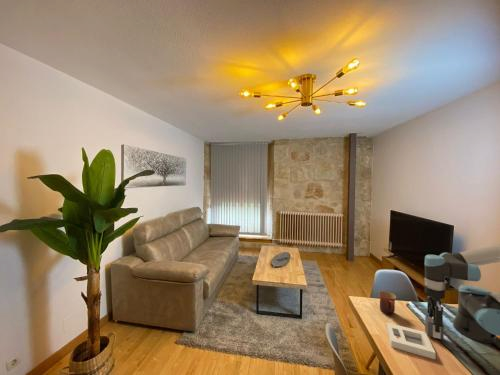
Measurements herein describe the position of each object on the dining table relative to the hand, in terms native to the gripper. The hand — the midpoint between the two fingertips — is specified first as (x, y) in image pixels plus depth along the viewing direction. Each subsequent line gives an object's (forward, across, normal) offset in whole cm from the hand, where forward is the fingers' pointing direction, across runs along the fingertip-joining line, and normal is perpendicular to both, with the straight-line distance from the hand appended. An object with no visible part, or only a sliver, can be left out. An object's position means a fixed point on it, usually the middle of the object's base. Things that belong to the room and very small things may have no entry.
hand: (434, 334), depth 104 cm
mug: (+1, -12, -18) cm, 21 cm away
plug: (0, 0, 0) cm, 1 cm away
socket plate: (+1, +10, -13) cm, 16 cm away
